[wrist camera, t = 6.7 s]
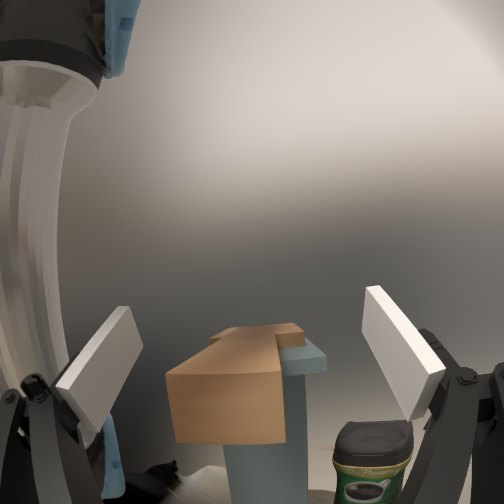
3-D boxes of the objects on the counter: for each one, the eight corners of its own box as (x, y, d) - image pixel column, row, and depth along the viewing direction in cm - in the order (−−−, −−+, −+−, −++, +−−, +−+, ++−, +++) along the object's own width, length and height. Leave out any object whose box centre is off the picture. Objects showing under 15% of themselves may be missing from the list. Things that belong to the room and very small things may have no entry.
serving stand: (234, 584, 10) (183, 365, 16) (245, 514, 26) (224, 338, 32) (316, 580, 10) (326, 355, 16) (305, 510, 25) (299, 332, 31)
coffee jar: (400, 507, 20) (419, 408, 23) (389, 542, 13) (417, 439, 17) (340, 505, 25) (345, 411, 29) (319, 536, 18) (324, 440, 22)
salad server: (102, 429, 6) (90, 366, 6) (230, 337, 32) (228, 321, 32) (377, 426, 5) (379, 355, 6) (293, 332, 31) (292, 316, 32)
